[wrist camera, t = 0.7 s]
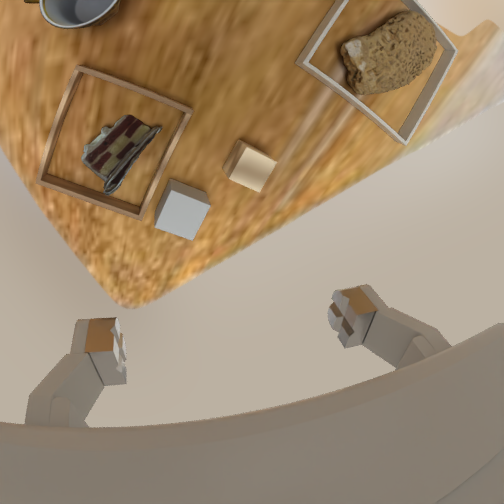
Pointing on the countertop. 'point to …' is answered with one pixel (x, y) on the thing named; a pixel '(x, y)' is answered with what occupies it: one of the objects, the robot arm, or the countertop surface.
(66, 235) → the countertop surface
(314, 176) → the countertop surface
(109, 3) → the ceramic cup
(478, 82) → the countertop surface
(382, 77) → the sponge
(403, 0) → the grey square frame
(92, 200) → the oak cake frame
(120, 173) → the chocolate cake
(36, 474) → the robot arm
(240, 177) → the maple block
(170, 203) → the slate block
